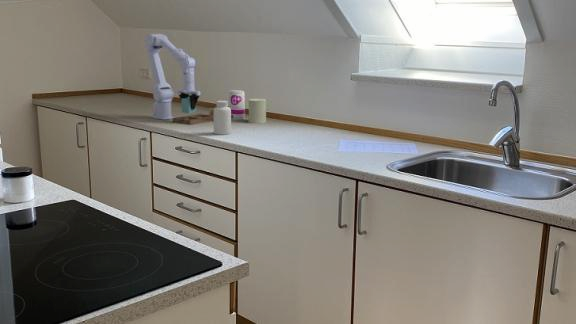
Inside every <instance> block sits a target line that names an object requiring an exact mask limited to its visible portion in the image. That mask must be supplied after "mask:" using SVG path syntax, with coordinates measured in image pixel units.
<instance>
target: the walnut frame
mask: <svg viewBox="0 0 576 324" xmlns="http://www.w3.org/2000/svg"><path fill="white" fill-rule="evenodd" d="M172 122H173V123H178V124H183V125H191V126H193V125H197V124H204V123H208V122H214V116H213V115H209V114H205V113H197V114H191V115H184V116H177V117H175V118H172Z"/></svg>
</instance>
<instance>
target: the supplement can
mask: <svg viewBox="0 0 576 324" xmlns="http://www.w3.org/2000/svg"><path fill="white" fill-rule="evenodd" d="M229 91H230V92H229V93H228V100H229V101H228V107H229V108H230V109H231V121H243V120H244V119H245V118H246V96H245V95H246V94H245V91H244V90H241V89H233V90H232V89H231V90H229Z"/></svg>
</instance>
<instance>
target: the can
mask: <svg viewBox="0 0 576 324" xmlns="http://www.w3.org/2000/svg"><path fill="white" fill-rule="evenodd" d="M248 123H250V124H265V123H267V99H265V98H249V99H248Z"/></svg>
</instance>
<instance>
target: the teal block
mask: <svg viewBox="0 0 576 324" xmlns="http://www.w3.org/2000/svg"><path fill="white" fill-rule="evenodd" d="M181 113H185V114H194V113H197V106H196V107H195V109H191V102H190V98H189V97H188V98H183V99H182V101H181Z"/></svg>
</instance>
